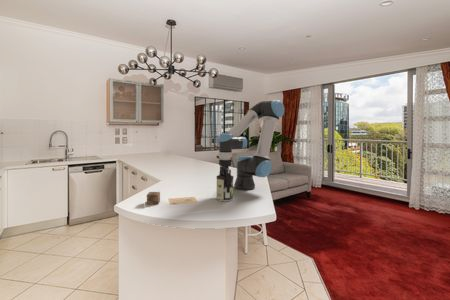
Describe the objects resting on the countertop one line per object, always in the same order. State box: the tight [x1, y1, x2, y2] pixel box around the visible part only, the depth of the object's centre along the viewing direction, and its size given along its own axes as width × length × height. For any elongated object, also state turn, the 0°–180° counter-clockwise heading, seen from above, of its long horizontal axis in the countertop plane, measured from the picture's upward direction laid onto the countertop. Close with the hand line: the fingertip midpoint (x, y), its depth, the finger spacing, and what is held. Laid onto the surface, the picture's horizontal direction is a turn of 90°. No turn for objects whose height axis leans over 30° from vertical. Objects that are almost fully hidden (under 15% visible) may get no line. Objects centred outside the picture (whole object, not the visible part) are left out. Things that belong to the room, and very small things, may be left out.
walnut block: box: [146, 191, 161, 206], centre depth 132 cm, size 6×6×6 cm
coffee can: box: [215, 174, 234, 202], centre depth 143 cm, size 10×10×14 cm
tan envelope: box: [168, 196, 199, 206], centre depth 138 cm, size 16×12×1 cm
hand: (224, 195), depth 144 cm, fingers closed on coffee can, 10 cm apart
